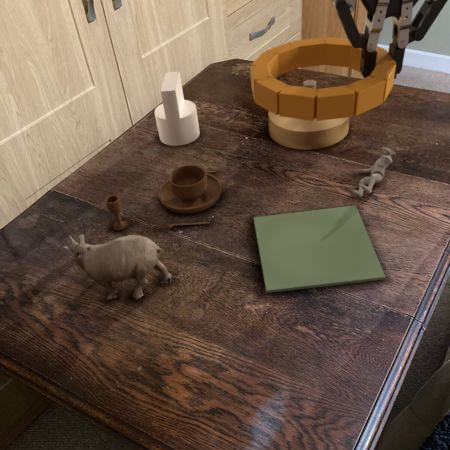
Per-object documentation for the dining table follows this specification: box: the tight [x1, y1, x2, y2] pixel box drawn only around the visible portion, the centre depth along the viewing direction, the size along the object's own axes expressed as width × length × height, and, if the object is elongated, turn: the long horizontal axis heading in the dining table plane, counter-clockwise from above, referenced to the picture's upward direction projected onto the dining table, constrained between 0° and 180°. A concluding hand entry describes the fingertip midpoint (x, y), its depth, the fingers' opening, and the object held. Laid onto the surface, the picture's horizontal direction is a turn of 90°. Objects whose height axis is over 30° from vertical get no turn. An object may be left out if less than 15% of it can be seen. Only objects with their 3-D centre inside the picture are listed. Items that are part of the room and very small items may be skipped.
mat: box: [253, 204, 386, 294], centre depth 80 cm, size 18×18×1 cm
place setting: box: [104, 164, 222, 232], centre depth 91 cm, size 18×20×6 cm
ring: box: [249, 36, 396, 121], centre depth 62 cm, size 17×17×3 cm
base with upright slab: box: [154, 71, 201, 147], centre depth 105 cm, size 9×9×12 cm
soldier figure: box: [351, 146, 397, 198], centre depth 90 cm, size 8×5×12 cm
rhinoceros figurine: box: [62, 233, 173, 301], centre depth 76 cm, size 8×14×15 cm
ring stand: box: [267, 79, 351, 151], centre depth 103 cm, size 17×17×10 cm
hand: (379, 77), depth 62 cm, fingers closed on ring, 2 cm apart
